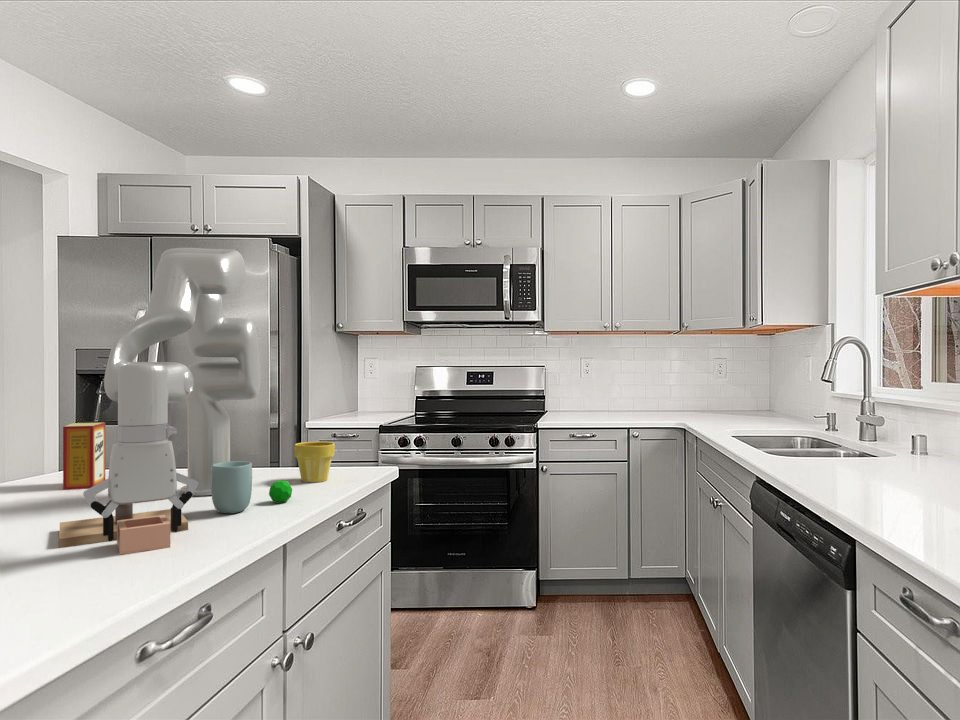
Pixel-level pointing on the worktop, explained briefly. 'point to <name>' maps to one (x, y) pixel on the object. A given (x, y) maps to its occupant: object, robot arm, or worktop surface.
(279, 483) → the polyhedron
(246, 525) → the worktop surface
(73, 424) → the baking soda box
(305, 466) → the plant pot
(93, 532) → the post board
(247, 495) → the cup
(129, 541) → the collar
